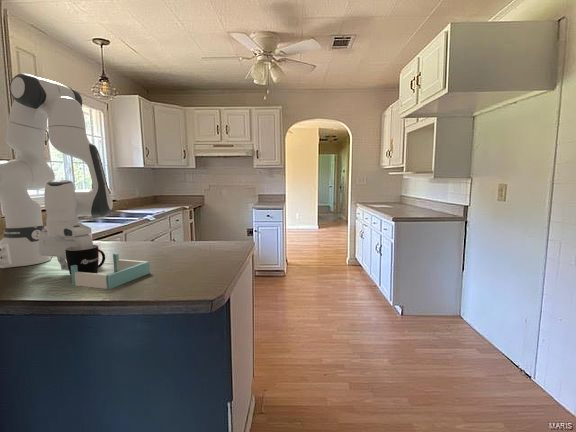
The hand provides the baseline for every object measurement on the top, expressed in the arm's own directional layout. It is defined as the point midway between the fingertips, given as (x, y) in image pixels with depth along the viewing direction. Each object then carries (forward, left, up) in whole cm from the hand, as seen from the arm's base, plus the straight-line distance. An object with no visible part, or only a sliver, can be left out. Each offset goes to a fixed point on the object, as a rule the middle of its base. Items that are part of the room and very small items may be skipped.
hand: (67, 269), depth 110 cm
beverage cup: (-1, +11, -2) cm, 11 cm away
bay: (+19, 0, -2) cm, 19 cm away
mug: (+9, 0, -2) cm, 9 cm away
